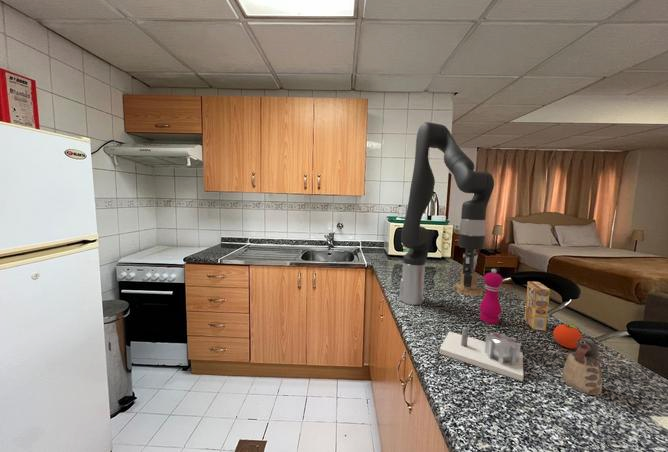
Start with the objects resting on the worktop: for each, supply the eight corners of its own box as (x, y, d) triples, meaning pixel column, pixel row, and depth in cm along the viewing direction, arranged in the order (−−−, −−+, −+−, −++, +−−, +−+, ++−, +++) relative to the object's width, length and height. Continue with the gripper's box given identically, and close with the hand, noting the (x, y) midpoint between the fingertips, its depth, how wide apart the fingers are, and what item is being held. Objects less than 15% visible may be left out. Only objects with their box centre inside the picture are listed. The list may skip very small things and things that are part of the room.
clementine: (565, 339, 89) (568, 319, 88) (589, 351, 82) (592, 329, 81) (546, 341, 87) (549, 320, 86) (569, 353, 80) (572, 331, 80)
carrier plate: (439, 353, 78) (441, 330, 78) (448, 335, 89) (450, 315, 88) (522, 381, 67) (525, 354, 66) (522, 357, 78) (524, 333, 77)
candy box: (546, 331, 94) (551, 289, 93) (532, 329, 95) (537, 287, 94) (536, 321, 103) (540, 282, 101) (523, 319, 104) (527, 280, 102)
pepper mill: (503, 325, 98) (509, 272, 96) (482, 323, 99) (487, 270, 97) (495, 317, 105) (500, 267, 103) (475, 315, 106) (480, 265, 104)
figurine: (608, 391, 64) (615, 344, 63) (589, 398, 62) (596, 349, 61) (573, 373, 71) (579, 330, 70) (555, 378, 69) (561, 334, 67)
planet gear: (451, 292, 88) (452, 273, 87) (456, 285, 95) (457, 267, 95) (481, 298, 83) (483, 277, 82) (484, 290, 90) (485, 271, 90)
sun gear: (483, 358, 74) (484, 341, 73) (486, 345, 81) (487, 329, 80) (518, 369, 69) (520, 351, 69) (518, 355, 76) (520, 338, 76)
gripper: (462, 230, 95) (459, 277, 97) (455, 234, 83) (452, 287, 85) (486, 232, 91) (483, 281, 93) (483, 236, 79) (478, 292, 81)
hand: (468, 284), depth 89 cm, fingers closed on planet gear, 4 cm apart
